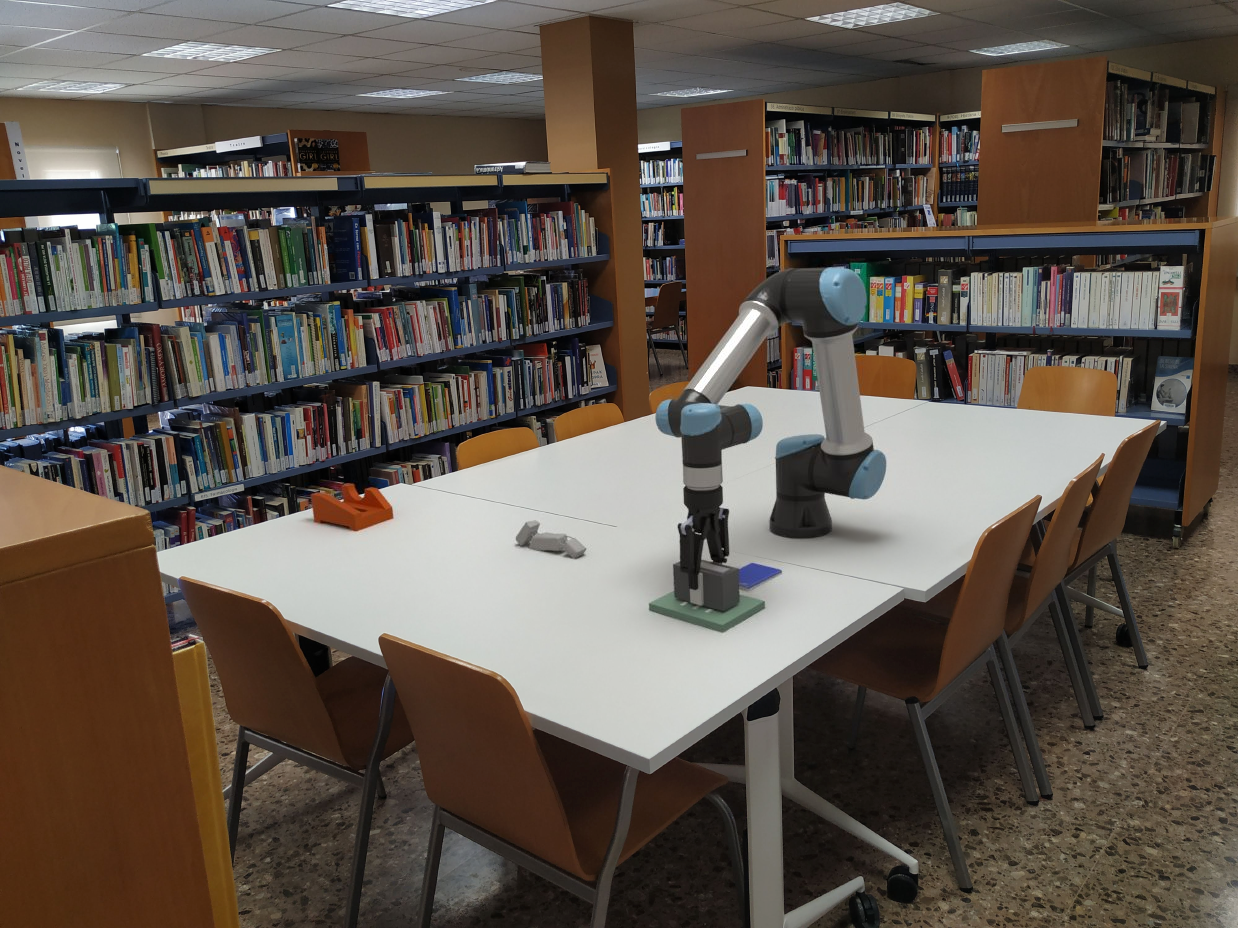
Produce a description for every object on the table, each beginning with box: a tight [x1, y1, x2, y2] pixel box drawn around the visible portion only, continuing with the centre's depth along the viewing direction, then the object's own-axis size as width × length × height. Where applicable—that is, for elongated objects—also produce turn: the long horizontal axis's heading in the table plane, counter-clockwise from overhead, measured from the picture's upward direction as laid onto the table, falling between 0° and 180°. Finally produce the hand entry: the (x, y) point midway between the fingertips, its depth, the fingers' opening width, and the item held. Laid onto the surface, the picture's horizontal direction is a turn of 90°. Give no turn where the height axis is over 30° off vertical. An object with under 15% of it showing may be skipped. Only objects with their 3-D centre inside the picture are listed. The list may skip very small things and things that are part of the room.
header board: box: [648, 590, 766, 633], centre depth 183 cm, size 14×18×6 cm
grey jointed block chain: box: [515, 520, 588, 559], centre depth 223 cm, size 20×4×7 cm, turn 52°
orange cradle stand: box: [310, 483, 394, 532], centre depth 256 cm, size 18×13×8 cm
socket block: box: [672, 559, 740, 611], centre depth 183 cm, size 5×12×7 cm, turn 48°
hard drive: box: [739, 562, 783, 592], centre depth 199 cm, size 2×8×12 cm
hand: (706, 598), depth 184 cm, fingers closed on socket block, 5 cm apart
